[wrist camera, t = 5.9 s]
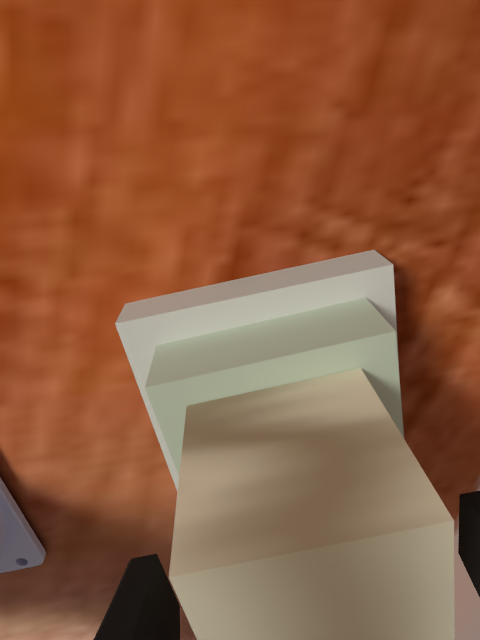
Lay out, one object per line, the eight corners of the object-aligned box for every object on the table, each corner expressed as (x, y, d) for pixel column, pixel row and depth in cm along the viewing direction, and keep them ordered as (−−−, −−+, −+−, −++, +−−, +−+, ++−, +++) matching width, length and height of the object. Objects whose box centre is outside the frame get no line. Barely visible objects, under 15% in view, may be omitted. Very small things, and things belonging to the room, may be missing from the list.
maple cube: (227, 526, 14) (232, 717, 9) (186, 405, 12) (168, 577, 7) (375, 495, 14) (455, 677, 9) (360, 368, 12) (453, 520, 7)
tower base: (190, 471, 19) (186, 517, 17) (129, 295, 16) (115, 323, 13) (382, 433, 19) (404, 475, 17) (367, 244, 15) (393, 264, 13)
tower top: (209, 495, 17) (209, 553, 14) (156, 345, 14) (144, 388, 12) (383, 458, 16) (409, 511, 14) (365, 297, 14) (395, 331, 11)
